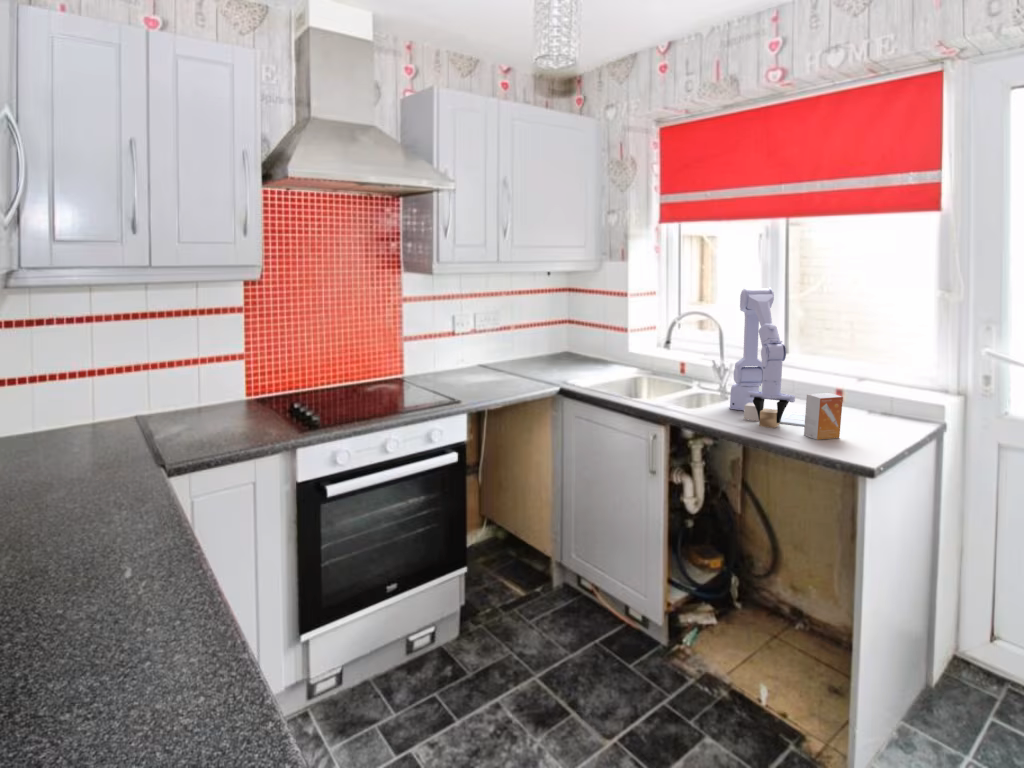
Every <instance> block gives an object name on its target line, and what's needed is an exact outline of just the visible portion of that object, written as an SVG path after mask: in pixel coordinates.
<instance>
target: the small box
mask: <svg viewBox="0 0 1024 768" xmlns="http://www.w3.org/2000/svg"><path fill="white" fill-rule="evenodd" d="M843 400H844V397H843V395H842V396H841V395H838V394H835V393H831V392H825V393H823V392H822V393H820V392H819V393H811V394H806V402H805V412H804V414H805V426H803V427H804V429H803V430H804V431H803V436H806V437H808V438H811V439H814V440H817V441H819V440H826V439H827V440H829V439H832V440H833V439H840V434H841V433H840V432H841V425H842V424H841V423H842V410H843V402H844V401H843Z"/></svg>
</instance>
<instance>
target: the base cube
mask: <svg viewBox="0 0 1024 768" xmlns="http://www.w3.org/2000/svg"><path fill="white" fill-rule="evenodd" d="M758 422H759V423H758V424H759V427H763V428H764V427H765V428H770V429H771V428H772V429H776V428H777V427H778V426H780V423H777V409H775V408H773V409H772V408H765V407H764V409H763V410H761V411H760V421H758Z"/></svg>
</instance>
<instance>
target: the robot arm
mask: <svg viewBox="0 0 1024 768" xmlns="http://www.w3.org/2000/svg"><path fill="white" fill-rule="evenodd" d="M774 293H775V292H774V291H773V288H771V287H768V288H763V287H762V288H745V287H744V288H743V289H742V290H741V293H740V297H739V308H740V309H739V310H740V312H743V313H744V326H743V327H744V328H743V330H744V333H743V356H742V357H741V358H740V359H739V360H738V361H736V362H735V363H734V370H733V381H734V383H733V384H732V385H731V388H730V392H729V393H730V395H729V398H730V399H729V408H728V409H730V410H737V411H744V407H745V405H746V404H747V403H749V402H750V403H754V405H755V407H756V410H757V413H758V418H759V421H758V422H760V411H761V410H763V406H764V407H765V400H770V401H772V400H773V401H777V402H776V408H777V409H776V410H777V423H779V424H781V423H780V422H781V417H782V414H783V413H784V412H785V409H786V408H787V406H788V405H789V403H795V402H796V395H792V394H787V393H782V391H781V390H782V373H783V372H782V371H783V362H784V361H785V360H786V358H787V348H786V345H785V343H784V342H783V341H782V340H781V339H780V336H779V331H778V328H777V326H776V324H774V323H773V318H772V313H771V308H772V305H773V304H774V300H775V294H774ZM759 339H760V344H761V349H760V350H761V351H760V357H761V358H760V359H761V360H760V359H759V358H758V355H759V353H758V352H759V351H758V349H759ZM760 386H761V391H760Z"/></svg>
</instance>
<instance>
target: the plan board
mask: <svg viewBox="0 0 1024 768" xmlns="http://www.w3.org/2000/svg"><path fill="white" fill-rule="evenodd" d="M779 424H782V425H783V424H784V425H790V426H798V427H805V413H800V412H791V411H784V412H783V414H782V417H781V422H780V423H779Z"/></svg>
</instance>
